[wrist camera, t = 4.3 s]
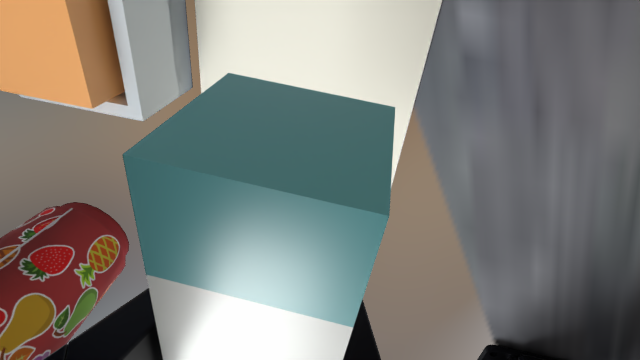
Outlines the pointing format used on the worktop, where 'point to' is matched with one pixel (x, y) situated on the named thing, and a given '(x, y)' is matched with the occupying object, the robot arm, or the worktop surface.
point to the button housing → (147, 57)
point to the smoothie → (55, 277)
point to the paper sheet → (322, 47)
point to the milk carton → (261, 219)
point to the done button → (59, 51)
